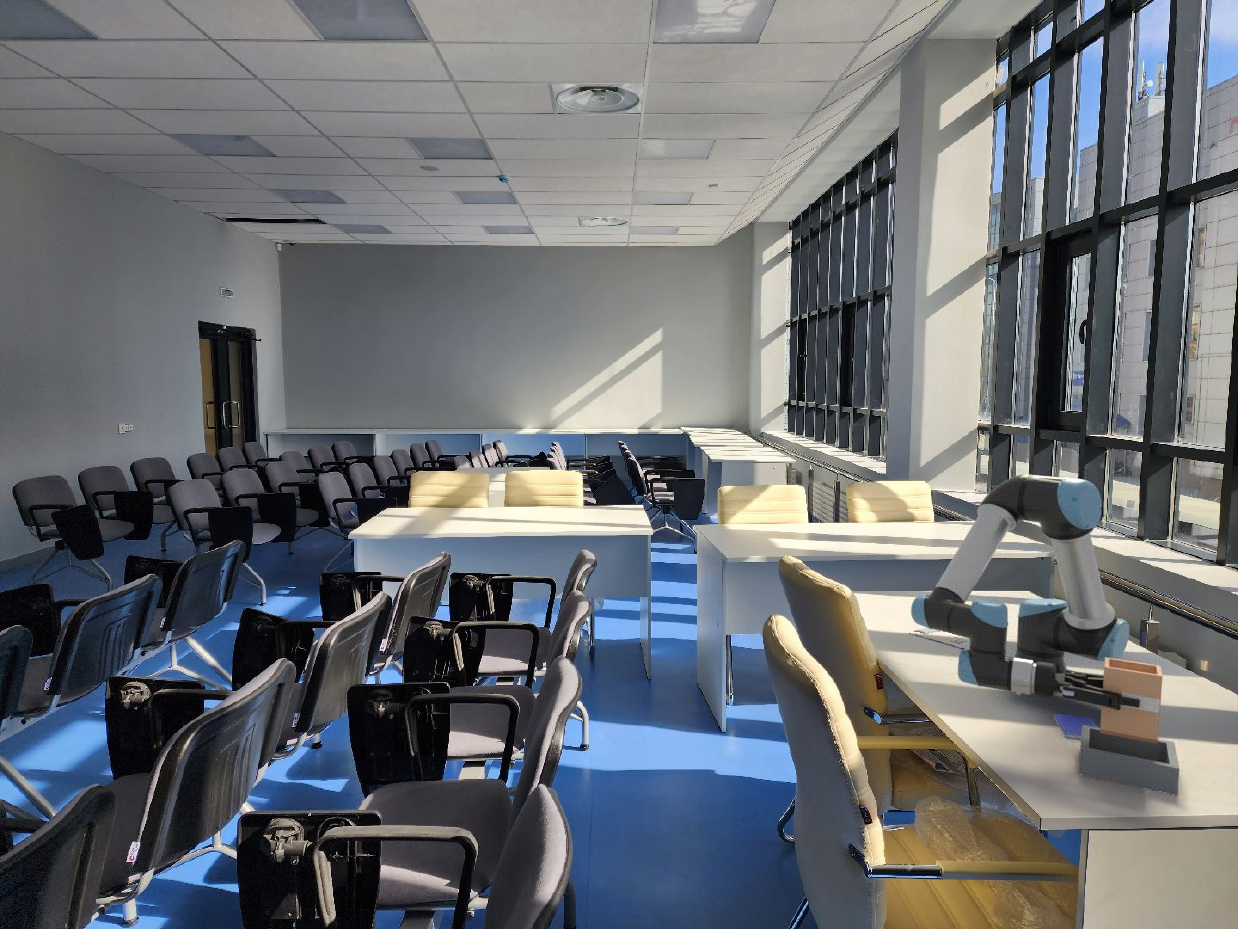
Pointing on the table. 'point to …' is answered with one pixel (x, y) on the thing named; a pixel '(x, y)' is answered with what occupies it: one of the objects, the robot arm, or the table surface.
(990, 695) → the table surface
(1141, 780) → the tray
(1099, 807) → the table surface
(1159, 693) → the tall tapered brown container
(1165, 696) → the table surface
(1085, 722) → the hard drive
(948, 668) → the table surface
